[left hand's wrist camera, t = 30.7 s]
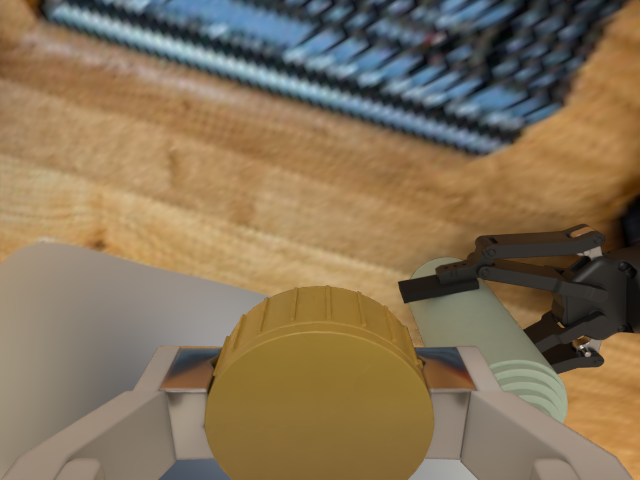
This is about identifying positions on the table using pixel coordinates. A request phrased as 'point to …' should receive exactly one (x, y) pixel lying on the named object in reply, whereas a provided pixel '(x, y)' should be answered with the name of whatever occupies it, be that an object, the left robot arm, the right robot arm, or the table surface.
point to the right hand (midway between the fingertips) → (408, 332)
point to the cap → (319, 392)
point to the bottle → (490, 341)
